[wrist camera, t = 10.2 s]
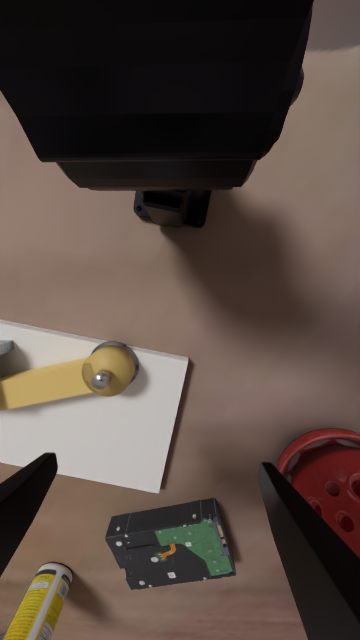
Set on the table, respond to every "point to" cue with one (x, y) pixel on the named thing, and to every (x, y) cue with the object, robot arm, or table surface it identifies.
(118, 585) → the table surface
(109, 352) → the link
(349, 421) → the table surface
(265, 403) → the table surface
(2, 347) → the keeper
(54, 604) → the supplement bottle
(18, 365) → the base plate
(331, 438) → the plant pot
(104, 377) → the pintle
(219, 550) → the disk drive
